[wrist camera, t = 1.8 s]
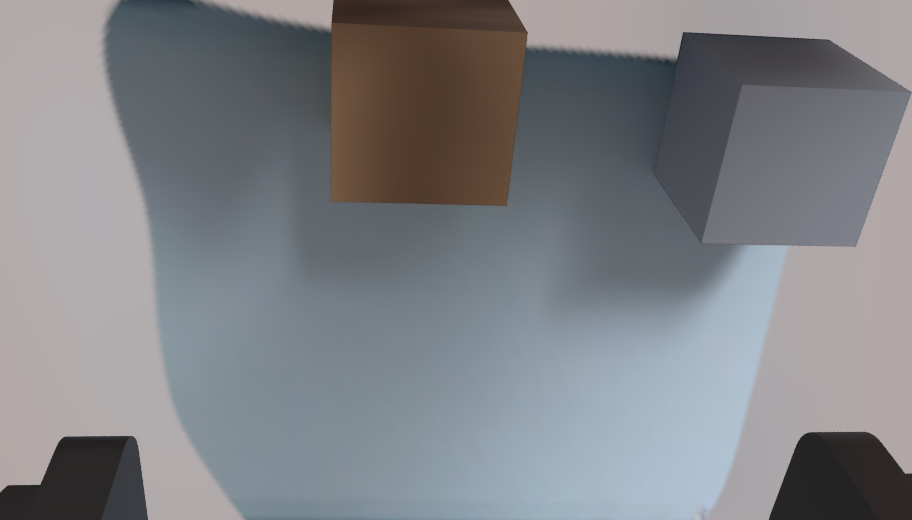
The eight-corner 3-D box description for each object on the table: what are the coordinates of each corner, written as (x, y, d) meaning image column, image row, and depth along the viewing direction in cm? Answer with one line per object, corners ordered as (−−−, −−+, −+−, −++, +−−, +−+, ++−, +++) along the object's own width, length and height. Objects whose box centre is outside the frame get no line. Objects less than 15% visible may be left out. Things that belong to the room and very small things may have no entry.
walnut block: (500, -14, 24) (528, 32, 20) (484, 137, 26) (507, 205, 22) (335, -24, 23) (331, 23, 19) (334, 132, 26) (330, 201, 22)
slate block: (828, 39, 26) (911, 92, 22) (786, 177, 28) (855, 246, 24) (683, 32, 25) (742, 84, 21) (652, 172, 27) (701, 243, 23)
